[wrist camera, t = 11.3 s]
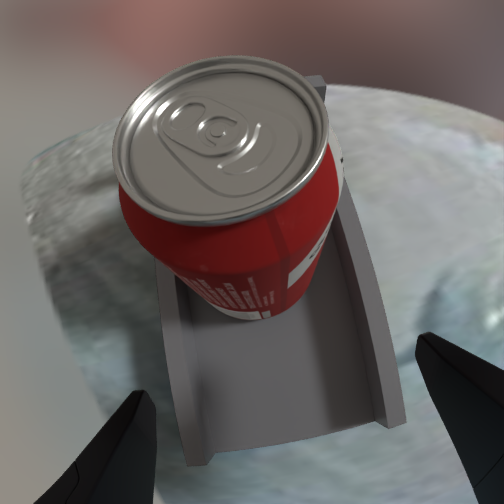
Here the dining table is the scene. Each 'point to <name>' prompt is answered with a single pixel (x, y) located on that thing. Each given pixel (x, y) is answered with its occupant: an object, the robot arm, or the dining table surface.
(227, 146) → the soda can
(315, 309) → the tray
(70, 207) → the dining table surface
